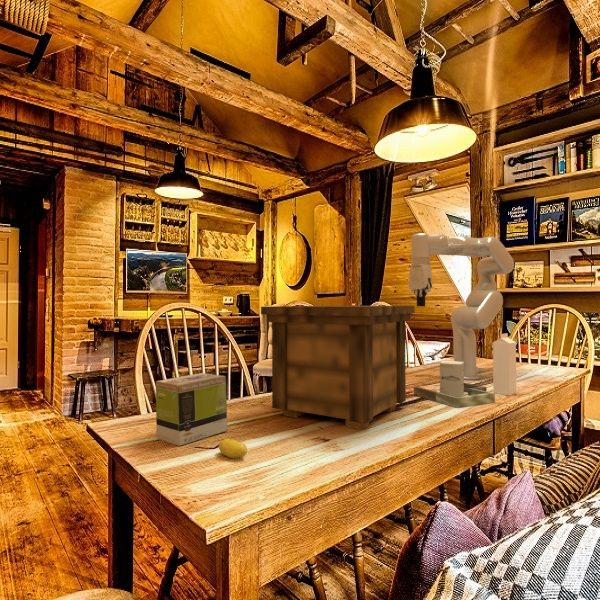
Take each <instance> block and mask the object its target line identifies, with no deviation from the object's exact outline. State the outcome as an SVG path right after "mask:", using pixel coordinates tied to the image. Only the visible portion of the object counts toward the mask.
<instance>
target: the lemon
mask: <svg viewBox="0 0 600 600" xmlns="http://www.w3.org/2000/svg"><path fill="white" fill-rule="evenodd" d="M218 450H219V452H220V453H221V454H222V455H223V456H225V457H228V458H231V459H239V458H241V457H242V458H243V457H244V456H246V454H247V452H248V447H247V445H246V444H245V443H243V442H240V441H238V440H235V439H233V438H224V439H222V440H221V441H220V443H219V445H218Z"/></svg>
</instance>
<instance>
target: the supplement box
mask: <svg viewBox="0 0 600 600" xmlns="http://www.w3.org/2000/svg"><path fill="white" fill-rule="evenodd" d="M464 383H465V380H464V362H458V361H454V360H441V362H440V363H439V393H443V394H447V395H451V396H455V397H462V396H464V394H465V393H464V392H465V391H464Z"/></svg>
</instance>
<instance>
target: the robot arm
mask: <svg viewBox="0 0 600 600" xmlns="http://www.w3.org/2000/svg"><path fill="white" fill-rule="evenodd" d="M410 241H411V243H410V244H411V245H410V246H411V249H410V250H411V261H410V262H411V263H410V264H411V266H410V269H409V274H408V289H409V290H411V291H410V292H411V293H413V294H414V295H415V298H416V307H426V297H427V295H428V293H430V292H431V291H432V288H433V273H432V272H433V271H432V266H431V255H433V256H436V255H437V256H459V257H460V256H462V257H470V258H481V257H483V258H482V259H479V260H478V262H477V265H476V269H477V270H476V271H477V274H478V281H477V283H476V285H475V286H474V288H473V289H472V290H471V292H470V293H469V294H468V296H467V298H466V300H465V305H466V306H460V307H456V308H454V310H452V312H451V313H450V322H451V326H452V335H453V338H452V339H453V340H452V341H453V361H458V362H464V381H470V380H471V381H472V380H473V381H475V380H480V379H481V375H480V374H479V373H484V368H482V367H477V336H476V334H475V331H474V330H483V329H486V328H488V327H489V326H490V325H491V323H492V322H493V321H494V319H495V317H497V315H498V314H499V312H500V310H501V309H502V308H503V307H502V306H503V303H504V298H503V295H502V293H501V292H500V291H498V290H497V288H498V287H497V285H498V284H497V282H496V281H495V277H494V276H495V275H507V274H510V273H511V272H512V271H513V270H514V268H515V261H514V258H513V257H512V255H511V254H510V253H509V252H508V249H506V248H507V247H505V245H504V244H503V243H502V241H500V240H499V239H498V238H497V237H496V236H486V237H469V236H461V235H459V236H458V235H457V236H450V237H448V236H447V235H445V234H443V233H425V232H418V233H414V234H412V236H411V239H410Z"/></svg>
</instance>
